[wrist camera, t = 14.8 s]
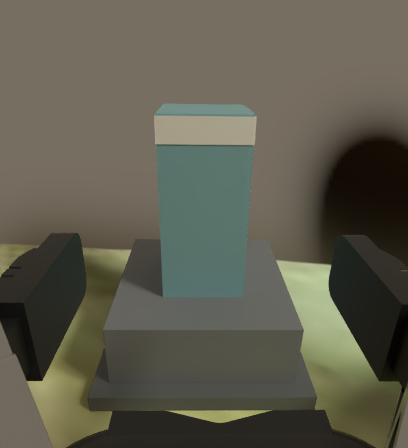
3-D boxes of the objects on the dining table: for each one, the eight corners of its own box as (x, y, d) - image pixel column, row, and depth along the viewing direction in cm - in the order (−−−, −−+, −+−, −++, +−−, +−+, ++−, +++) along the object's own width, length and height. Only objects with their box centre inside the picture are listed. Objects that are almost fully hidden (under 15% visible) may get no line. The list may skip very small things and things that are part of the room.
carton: (162, 297, 22) (153, 113, 17) (168, 257, 27) (162, 103, 22) (243, 297, 22) (256, 114, 18) (235, 257, 27) (244, 104, 22)
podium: (89, 410, 20) (78, 343, 18) (129, 283, 32) (125, 234, 30) (314, 409, 21) (327, 342, 19) (272, 283, 32) (277, 234, 30)
